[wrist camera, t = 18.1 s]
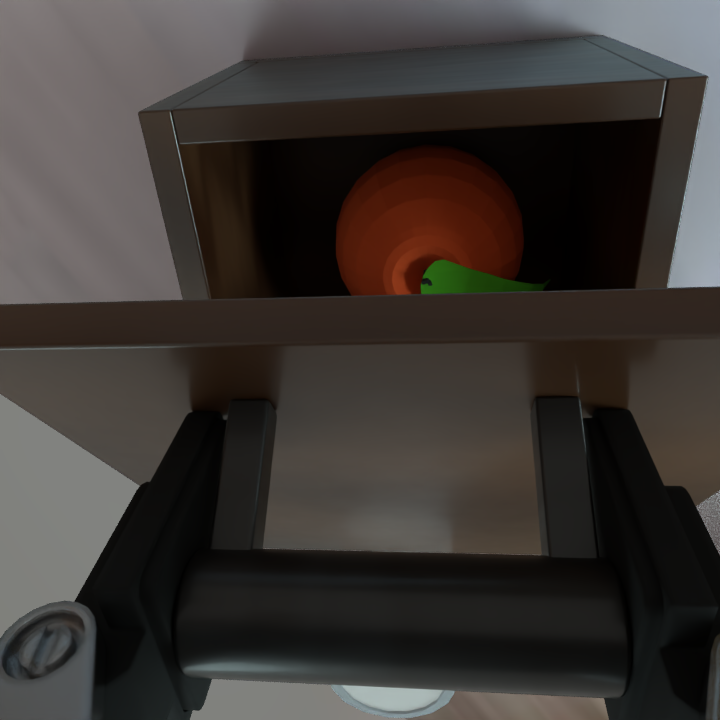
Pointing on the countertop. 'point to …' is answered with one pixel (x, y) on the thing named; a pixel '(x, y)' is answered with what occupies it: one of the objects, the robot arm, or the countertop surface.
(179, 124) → the chest
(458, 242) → the clementine
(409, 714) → the shot glass
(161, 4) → the countertop surface
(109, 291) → the countertop surface
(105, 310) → the lid
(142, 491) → the robot arm
